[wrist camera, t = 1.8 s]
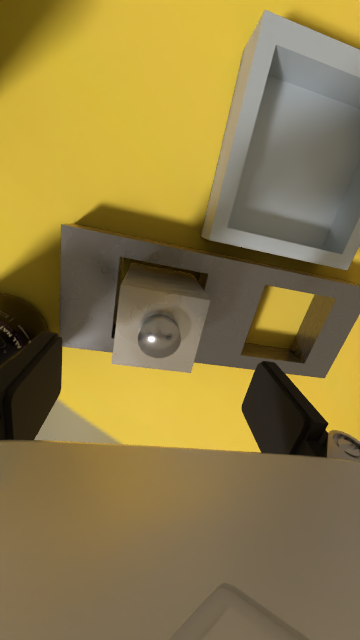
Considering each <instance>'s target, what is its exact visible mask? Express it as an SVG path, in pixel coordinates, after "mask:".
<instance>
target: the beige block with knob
mask: <svg viewBox="0 0 360 640" xmlns="http://www.w3.org/2000/svg"><path fill="white" fill-rule="evenodd" d="M209 304H210V299H209V298H208V296H207V295H206V293H205V292H204V290H203V289H202V287H201V286H200V285H199V283H198V282H197V280H196V279H195V277H194V276H193V274H191V273H185V272H180V271H175V270H170V269H164V268H159V267H154V266H149V265H144V264H138V263H133V262H132V264H131V265H130V267H129V269H128V271H127V273H126V275H125V277H124V279H123V281H122V283H121V286H120V295H119V304H118V312H117V321H116V330H115V339H114V347H113V356H112V364H117V365H126V366H135V367H143V368H152V369H161V370H170V371H179V372H187V373H191V370H192V367H193V363H194V359H195V356H196V352H197V348H198V345H199V341H200V337H201V334H202V330H203V326H204V323H205V319H206V315H207V312H208V308H209Z"/></svg>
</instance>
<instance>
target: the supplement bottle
mask: <svg viewBox="0 0 360 640" xmlns="http://www.w3.org/2000/svg"><path fill="white" fill-rule="evenodd" d="M43 331H44V332H48V329H47V326H46V323H45V321H44V320H43V318H42V316H41V315H40V314H39V313H38V311H37V310H36V309H34V308H33V307H32V306H31V305H30V304H28V303H27V302H25V301H23V300H21V299H19V298H17V297H14V296H11V295H7V294H1V293H0V368H1V367H3V366H4V365H5V364H6V363H7V362H8V361H9V360H11V359H14V358H15V357H16V356H17V355H18V354H19V353H20V352H21V351H22V350H23V349H24V348H25V347H26V346H27V345H29V344H30V343H31V342H32V341H33V340H34V339H35V338H36V337H37V336H38V335H39V334H40V333H41V332H43Z"/></svg>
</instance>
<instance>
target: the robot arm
mask: <svg viewBox="0 0 360 640" xmlns="http://www.w3.org/2000/svg"><path fill="white" fill-rule="evenodd" d="M61 374H62V337H58V334H57V333H51V332H44V331H43V332H41V333H40V334H39V335H38V336H37V337H36V338H35V339H34V340H33V341H32V342H31V343H30V344H29V345H27V346H26V347H25V348H24V349H23V350H22V351H21V352H20V353H19V354H18V355H17V356H16V357H15V358H14V359H11V360H9V361H8V362H7V363H6V364H5V365H4V366H3V367H1V368H0V640H360V442H359V441H358V440H357V439H355V438H354V437H352V436H350V435H349V434H346V433H344V432H341V431H337V430H332V431H330V432H329V433H328V432H327V431H326V430H325V429H326V427H327V425H328V423H327V421H326V420H325V419H324V418H323V417H322V416H321V415H320V413H319V412H318V411H317V410H316V409H315V408H314V407H313V405H312V404H311V403H310V402H309V401H308V400H307V399H306V397H305V396H304V395H303V394H302V393H301V392H300V391H299V389H298V388H297V387H296V386H295V385H294V384H293V383H292V381H291V380H290V379H289V378H288V377H287V376H286V374H285V373H284V372H283V371H282V370H281V369H280V368H279V366H278V365H277V364H276V363H275V362H269V361H262V362H261V363H259V364H258V365H257V367H256V370H255V372H254V375H253V377H252V380H251V383H250V385H249V388H248V391H247V393H246V396H245V398H244V401H243V404H242V412H243V414H244V417H245V419H246V421H247V423H248V425H249V427H250V429H251V432H252V434H253V436H254V438H255V440H256V442H257V444H258V446H259V449H260V451H261V453H258V452H242V451H227V450H210V449H194V448H177V447H160V446H142V445H123V444H104V443H85V442H67V441H46V440H45V441H44V440H34V439H35V437H36V435H37V434H38V432H39V430H40V428H41V426H42V425H43V423H44V421H45V419H46V418H47V416H48V414H49V412H50V410H51V408H52V407H53V405H54V403H55V401H56V400H57V398H58V396H59V394H60V391H61Z"/></svg>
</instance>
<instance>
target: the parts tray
mask: <svg viewBox="0 0 360 640" xmlns="http://www.w3.org/2000/svg"><path fill="white" fill-rule="evenodd" d="M201 237H203V238H205V239H208V240H211V241H216V242H220V243H225V244H229V245H234V246H238V247H243V248H247V249H252V250H257V251H261V252H266V253H270V254H275V255H279V256H284V257H288V258H293V259H297V260H302V261H307V262H311V263H316V264H320V265H325V266H329V267H334V268H338V269H343V270H348V268H349V266H350V264H351V262H352V260H353V258H354V256H355V254H356V252H357V250H358V248H359V245H360V50H359V49H357V48H354V47H352V46H350V45H347V44H345V43H343V42H340V41H338V40H336V39H333V38H331V37H328V36H326V35H324V34H321V33H319V32H317V31H314V30H312V29H309V28H307V27H305V26H302V25H300V24H298V23H295V22H293V21H291V20H288V19H286V18H283V17H281V16H279V15H276V14H274V13H272V12H269V11H267V10H265V11H264V13H263V15H262V17H261V19H260V20H259V22H258V24H257V26H256V28H255V30H254V32H253V34H252V35H251V37H250V39H249V41H248V43H247V45H246V47H245V49H244V51H243V55H242V60H241V64H240V68H239V73H238V77H237V81H236V86H235V90H234V94H233V99H232V103H231V107H230V112H229V116H228V120H227V125H226V129H225V133H224V138H223V142H222V146H221V151H220V155H219V159H218V164H217V168H216V173H215V177H214V181H213V186H212V190H211V194H210V199H209V203H208V207H207V212H206V216H205V220H204V225H203V229H202V233H201Z"/></svg>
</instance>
